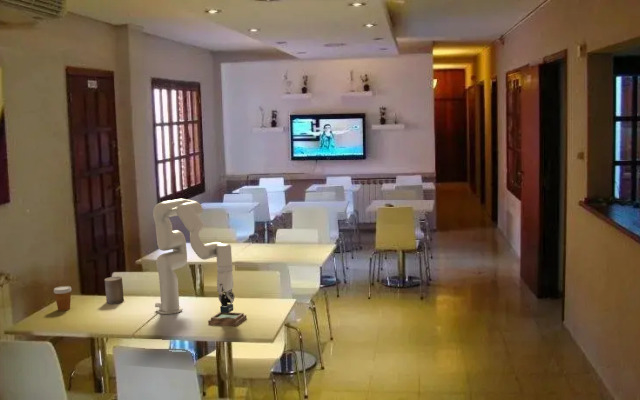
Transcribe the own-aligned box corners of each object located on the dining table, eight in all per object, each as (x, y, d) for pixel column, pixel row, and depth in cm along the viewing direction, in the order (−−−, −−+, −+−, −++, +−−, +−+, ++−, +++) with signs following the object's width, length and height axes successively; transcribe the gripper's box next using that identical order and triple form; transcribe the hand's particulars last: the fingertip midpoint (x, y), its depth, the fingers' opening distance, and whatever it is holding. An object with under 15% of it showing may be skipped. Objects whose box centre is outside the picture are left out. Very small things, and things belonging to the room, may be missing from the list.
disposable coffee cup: (51, 310, 404) (49, 289, 403) (63, 306, 413) (61, 285, 411) (65, 312, 400) (63, 290, 399) (76, 307, 409) (75, 286, 408)
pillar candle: (127, 299, 422) (125, 274, 420) (118, 304, 413) (116, 278, 411) (111, 299, 424) (109, 274, 423) (103, 304, 415) (100, 278, 413)
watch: (231, 313, 366) (230, 291, 365) (217, 312, 369) (216, 290, 368) (236, 310, 372) (235, 289, 370) (222, 309, 374) (221, 288, 373)
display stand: (208, 324, 367) (208, 318, 367) (219, 317, 380) (219, 311, 379) (236, 326, 363) (235, 319, 362) (246, 318, 375) (246, 312, 375)
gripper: (225, 264, 377) (227, 299, 379) (210, 272, 361) (212, 308, 363) (238, 265, 375) (240, 300, 377) (224, 272, 359) (226, 309, 361)
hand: (226, 303), depth 370 cm, fingers closed on watch, 4 cm apart
